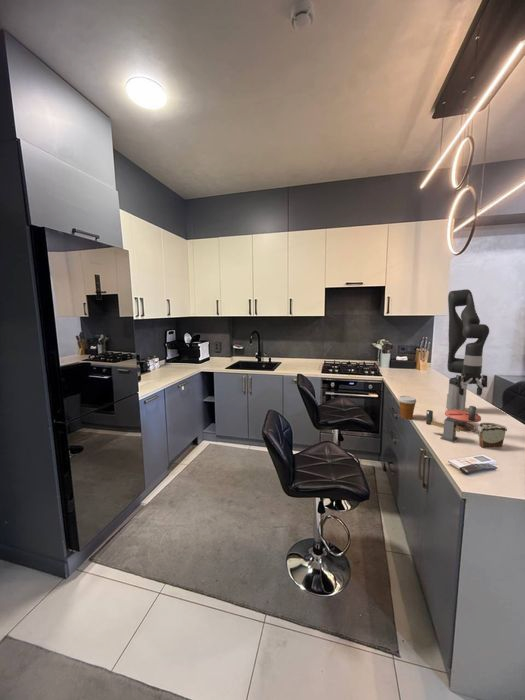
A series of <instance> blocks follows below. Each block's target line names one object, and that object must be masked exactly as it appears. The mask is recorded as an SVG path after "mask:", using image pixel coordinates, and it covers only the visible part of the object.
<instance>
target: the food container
mask: <svg viewBox="0 0 525 700" xmlns="http://www.w3.org/2000/svg"><path fill="white" fill-rule="evenodd" d="M477 431H478V434H479V435H478V436H479V437H478V438H479V440H478V442H479V447H480V448H482V449H495V448H496V449H497V448H498V449H499V448H501V449H502V448H503V446H504V440H505V437H506V436H505V435H506V432H508V428H507V426H505V425H502V424H499V423H493V422H481V423H478V425H477Z"/></svg>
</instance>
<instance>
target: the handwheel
mask: <svg viewBox="0 0 525 700" xmlns="http://www.w3.org/2000/svg"><path fill="white" fill-rule="evenodd" d="M476 410H477V407H476V406H474V405H469V406H468V410H465V411H464V410H456V409H453V410H445V411H444V412H445V413H444V415H445V416H446V418H447V417H449V418H453V419H457V420H458V424H460V425H466V422H468V423H478V422H481V421H482V416H481V415H480V414H478V413H476V412H477V411H476Z"/></svg>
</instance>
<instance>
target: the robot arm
mask: <svg viewBox="0 0 525 700" xmlns="http://www.w3.org/2000/svg"><path fill="white" fill-rule="evenodd" d="M473 296H474V295H473V293H472V291H471V290H470V289H458V290H451V291H449V293H448V295H447V303H448V305H447V307H448V356H447V371H448V372H450V373H454V374H456V376H455V377H451V378H449V379H448V393H447V394H446V407H445V409H447V410H453V409H456V410H464V411H466V401H467V399H466V398H467V389H468V385H472V384H473V385H476V386H477V387H476V395H477V396H479V397H480V396H482V394H483V388H487V387H488V375H486V374H482V372H483V371H482V368H483V351H484V346H485V343H486V341H487V338H488V337H489V335H490V328H489V326H488V325H487V324H483V323H481V320H480V317H479V315H478V313H477V311H476V306H475V301H474V297H473ZM464 306H465V307H464ZM457 307H464V308H463V309H462V311H461V313H460V316H459V315H458V312H457V309H456V308H457ZM467 339H477V340H476V341H474V342H469V343H466V341H467ZM465 343H466V345H465V351H464V358H461V357H456V353H457V352H458V350H459V349H460V348H461V347H462V346H463V345H464V344H465ZM459 374H460V375H459ZM481 374H482V375H481ZM480 380H481V381H480ZM447 410H446V411H447Z"/></svg>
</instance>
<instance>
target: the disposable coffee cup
mask: <svg viewBox="0 0 525 700" xmlns="http://www.w3.org/2000/svg"><path fill="white" fill-rule="evenodd" d="M398 401H399V411H400V412H399V413H400V418H401V419H403V420H404V419H405V420H412V419H413V417H414V411H415V407H416V403H417V399H416V397H414V396H410V395H400V396H399V398H398Z"/></svg>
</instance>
